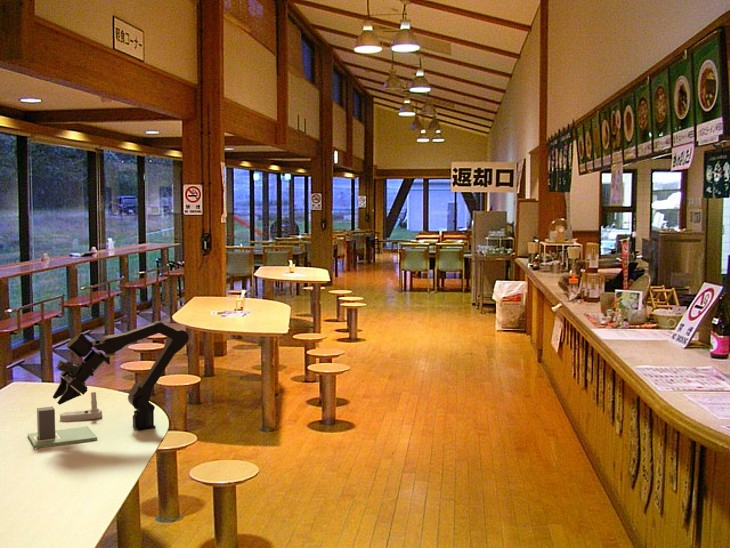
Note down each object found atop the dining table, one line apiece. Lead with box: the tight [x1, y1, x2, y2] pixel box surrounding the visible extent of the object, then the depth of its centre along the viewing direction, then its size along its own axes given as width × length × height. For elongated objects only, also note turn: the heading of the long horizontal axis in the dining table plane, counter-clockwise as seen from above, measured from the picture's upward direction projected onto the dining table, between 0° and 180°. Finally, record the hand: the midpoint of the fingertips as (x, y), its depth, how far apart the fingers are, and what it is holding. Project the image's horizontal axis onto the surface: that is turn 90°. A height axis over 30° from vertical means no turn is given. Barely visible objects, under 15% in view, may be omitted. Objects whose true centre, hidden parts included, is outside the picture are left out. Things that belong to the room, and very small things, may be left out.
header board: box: [27, 425, 98, 449], centre depth 273 cm, size 20×16×2 cm
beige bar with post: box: [59, 391, 103, 422], centre depth 299 cm, size 5×10×15 cm
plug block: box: [36, 406, 56, 440], centre depth 270 cm, size 5×4×10 cm
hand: (55, 400), depth 271 cm, fingers open, 9 cm apart
